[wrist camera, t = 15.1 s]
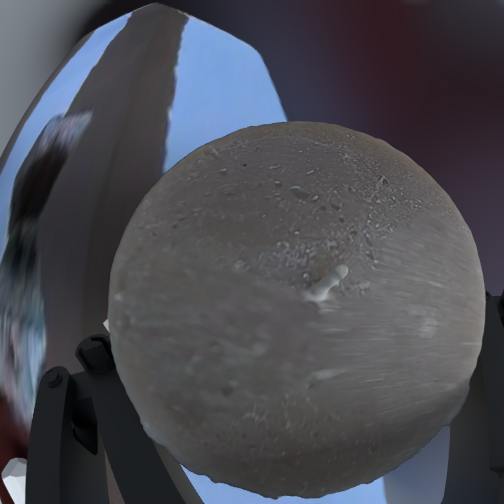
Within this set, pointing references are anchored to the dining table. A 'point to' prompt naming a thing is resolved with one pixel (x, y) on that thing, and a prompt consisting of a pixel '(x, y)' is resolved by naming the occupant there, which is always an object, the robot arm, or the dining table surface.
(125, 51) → the dining table surface
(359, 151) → the pillar candle
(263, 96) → the dining table surface
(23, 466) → the white octagonal bar
